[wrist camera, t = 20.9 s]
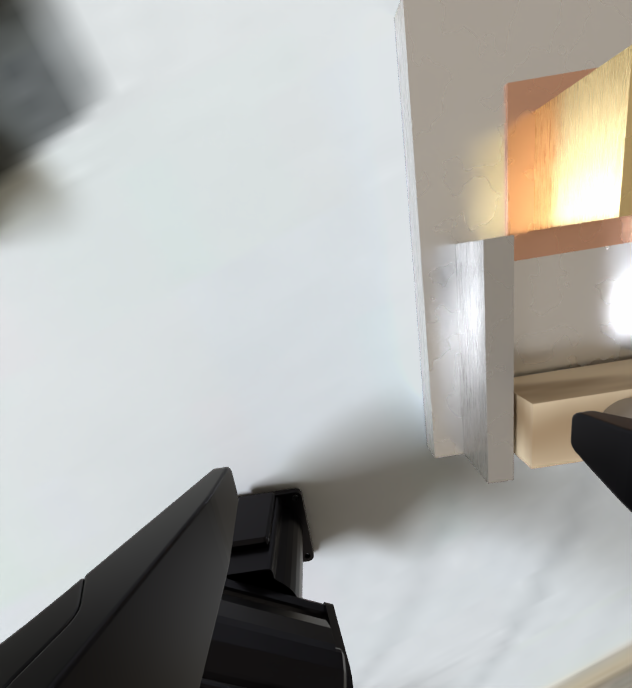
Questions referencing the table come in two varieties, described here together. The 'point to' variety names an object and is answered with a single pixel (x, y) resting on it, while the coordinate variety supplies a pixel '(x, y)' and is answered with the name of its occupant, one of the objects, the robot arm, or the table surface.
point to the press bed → (501, 212)
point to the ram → (565, 408)
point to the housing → (586, 149)
